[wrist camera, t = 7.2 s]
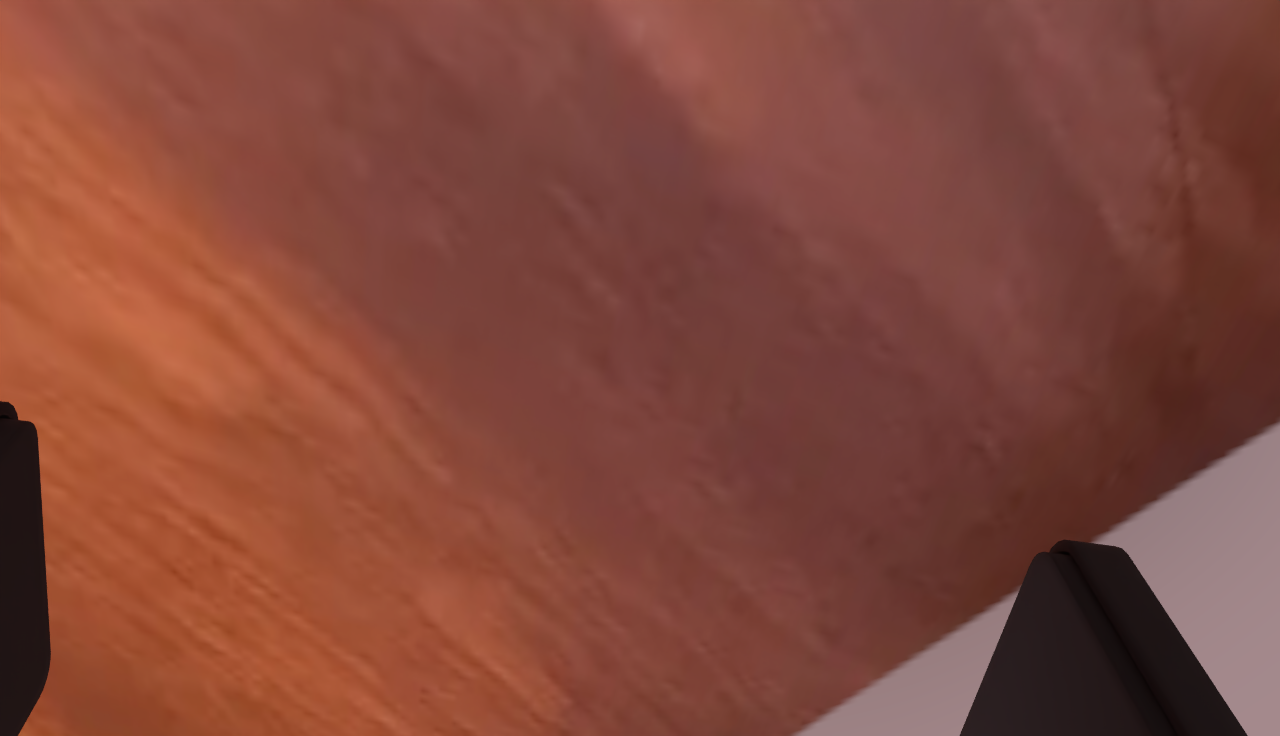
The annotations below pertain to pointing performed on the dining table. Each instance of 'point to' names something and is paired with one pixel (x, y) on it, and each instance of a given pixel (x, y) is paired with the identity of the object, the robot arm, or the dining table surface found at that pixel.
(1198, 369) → the dining table surface
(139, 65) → the dining table surface
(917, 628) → the dining table surface
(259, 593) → the dining table surface
